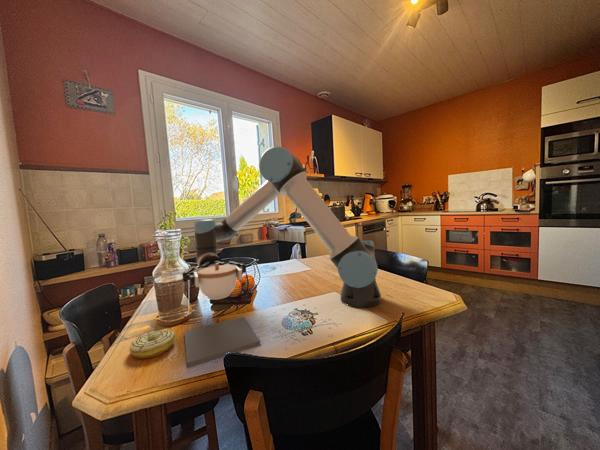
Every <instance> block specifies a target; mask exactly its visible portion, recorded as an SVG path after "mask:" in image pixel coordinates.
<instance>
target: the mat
mask: <svg viewBox="0 0 600 450" xmlns="http://www.w3.org/2000/svg"><path fill="white" fill-rule="evenodd" d="M183 334H184V344H185V345H184V347H185V355H186V356H185V357H186V367H187V368H190V367H193V366H196V365H198V364H202V363H204V362H208V361H211V360H215V359H217V358H222V357H224V355H225V354H226V353H228V352H234V353H237V352H240V351H244V350H247V349H250V348H253V347H257V346H261V340H260V338H259V337H258V335H257V334H256V332H255V331H254V330H253V328H252V327H251V326H250V323H248V321H247V320H246V318H245V317H244V316H241V317H237V318H232V319H229V320H228V319H227V320H225V321H221V322H216V323H212V324H208V325H205V326H201V327H197V328H193V329H189V330H184V331H183ZM225 356H226V355H225Z"/></svg>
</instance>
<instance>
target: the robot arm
mask: <svg viewBox="0 0 600 450" xmlns="http://www.w3.org/2000/svg"><path fill="white" fill-rule="evenodd" d="M258 169H259V172H260V174H261V176H262V178H263V179H265V180H266V181H265V182H264V183H262V185H260V187H258V188H257V189H256V190H255V191H254V192H253V193H252V194H251V195H250V196H248V197H247V198H246V199H245V200H244V201H243V202H242V203H241V204H239V205H238V206H237V207H236V208H235V209H233V211H232V212H231V213H229V214H228V215H227V216H226V217H225V218H224V219H223V220H222V221H220V222H217V223H216V220H215V219H211V218H210V219H197V220H196V221H194V237H195V238H194V239H195V252H196V253H195V255H196V257H195V259H196V260H195V262H196V264H197V266H198V267H196V266H194V265H189V268H187V269H186V270H185V271H183V272H182V275H181V276H182V282H183V283H186V282H188V281H189V284H190V285H195V288H200V287H199V279H198V274H197V271H199V270H201V269H203V268H207V267H211V266H215V264H216V263H219V265H232V266H236V268H237V271H236V273H237V280H239V281H242V280H243V275H244V273H247V269H246V268H247V267H246V264H245V263H242V262H241V263H240V262H237V261H236V262H235V261H234V260H229V261H228V263H226V262H223V260H222V259H221V257H220V256H218V248H217V247H218V246H217V244H218V242H221V241H227V240H228V241H229V240H231V239H233V238H235V237H236V236H237V234H238V231H240V230H241V228H242V227H243V228H244V227H245V226H246V225H247V224H248V223H249V222H250V221H251V220H252V219H253V218H254V217H255V216H257V215H258V214H259V213H260V212H261V211H263V210H264V209H265V208H266V207H267V206H268V205H269V204H271V203H272V202H273V201H274V200H275V199H277V198H278V197H279V196H281V195H282V196H287V198H288V200H290V201H291V203H292V204H293V205H294V207H295V208H296V209H297V210H298V212H299V213H300V214H301V216H302V218H303V219H304V220H305V221H306V222H307V223H308V225H309V226H310V227H311V228H312V230H313V231H314V233H315V234H316V235H317V236H318V238H319V239H320V241H321V242H322V243H323V244H324V246H325V247H326V249H327V250H329V257H328V258H329V260H330V261H331V263H333V265H334V266H335V267H336V269H337V272H338V275H339V277H340V279H341V280H342V282H343V284H342V287H341V291H340V301H342V302H341V303H343V302H344V303H346V304H348V305H347V306H349V305H351V306H350V307H353V306H357V307H356V308H370V307H371V308H372V307H375V306H378V305H380V304H381V303H382V294H381V291H380V289H379V286H378V284H377V281H376V277H377V274H378V270H379V268H378V262H377V260H376V256H375V255H376V254H375V253H376V252H375V250H376V247H375V243H374V241H373V240H361V239H360V238H359V237H358V236H356V235H355V236H354V235H351V234H350V233H349V231H348V230H347V229H346V228H345V226H344V225H343V224H342V222H341V221H340V220H339V219H338V218H337V217H336V215H335V214H334V212H332V210H331V209H330V207H329V206H328V205H327V204H326V202H325V201H324V200H323V198H322V197H321V196H320V195H319V194H318V192H317V191H316V190H315V189H314V187H313V186H312V184H311V183H310V182H309V181H308V180H307V179H308V178H307V176H308V172H307V171H306V170H305V168H304V167H303V164H302V162H301V160H300V159H299V157H297V156H296V155H294V154H293V153H292V152H291V151H290V150H289V149H287V148H285V147H282V146H277V145H275V146H272V147H269V148H267V149H266V150H265V151H264V152H262V155H261V156H260V159H259V164H258ZM380 302H381V303H380ZM344 303H343V304H344ZM346 304H345V305H346Z"/></svg>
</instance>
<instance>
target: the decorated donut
mask: <svg viewBox="0 0 600 450" xmlns="http://www.w3.org/2000/svg"><path fill="white" fill-rule="evenodd" d="M175 339H176V333H175V332H173V331H172V330H169V329H158V330H154V331H153V330H152V331H149V332H146V333H144V334H141V335H139V336H138V337H136V338H135V339H134V340H133V341H132V342H131V343H130V345H129V352H130V353H131V355H132V357H133V358H135V359H151V358H154V357H156V356H160V355H162V354H164V353H165V352H167V351H168V350H170V349H171V347H172V346H173V345H174V342H175Z"/></svg>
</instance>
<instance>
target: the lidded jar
mask: <svg viewBox="0 0 600 450" xmlns="http://www.w3.org/2000/svg"><path fill="white" fill-rule="evenodd" d="M236 271H237V268H236V266H232V265H219V263H216V264H215V266H211V267H207V268H203V269H201V270H199V271H197V274H198V279H199V287H198V288H199V289H200V292H201V293H202V294H203V295H204V296H205V297H207V299H209V300H211V301H212V300H214V301H215V300H223V299H225V298H226V299H227V298H228V297H229V296H230V295H231V293H232V292H233V291H234V290H235V288H236V285H237V280H238V278H237V273H236Z"/></svg>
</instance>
